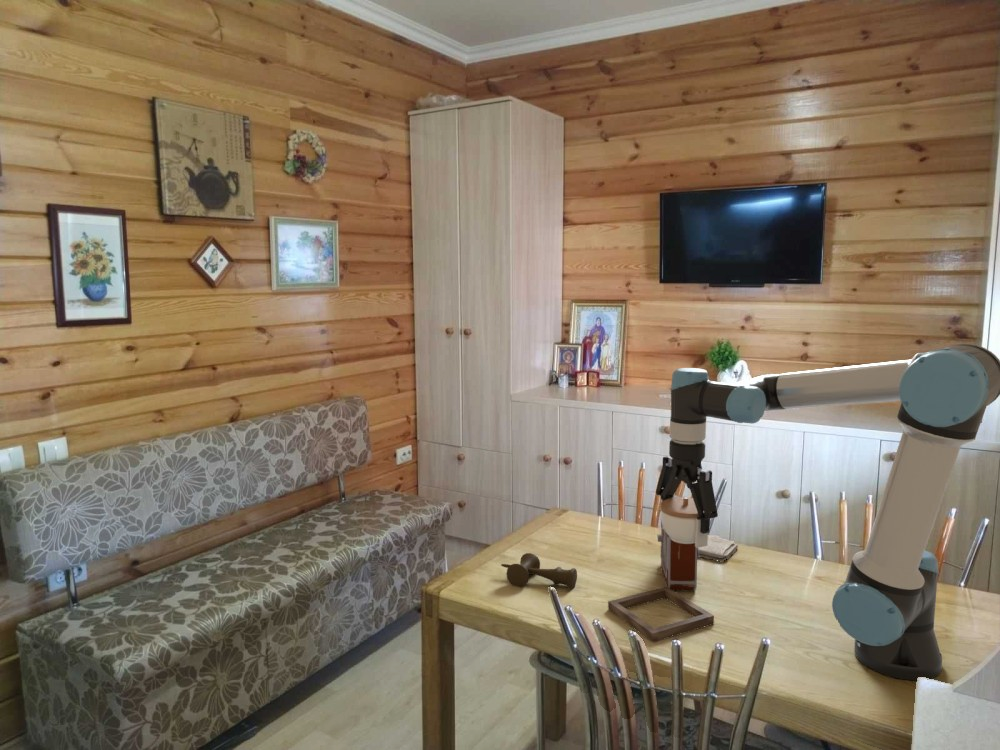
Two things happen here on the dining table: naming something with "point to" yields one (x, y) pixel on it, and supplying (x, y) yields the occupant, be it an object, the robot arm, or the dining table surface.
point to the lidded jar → (679, 519)
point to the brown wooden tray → (662, 632)
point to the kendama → (538, 572)
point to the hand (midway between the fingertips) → (684, 536)
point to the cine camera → (678, 563)
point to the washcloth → (717, 548)
